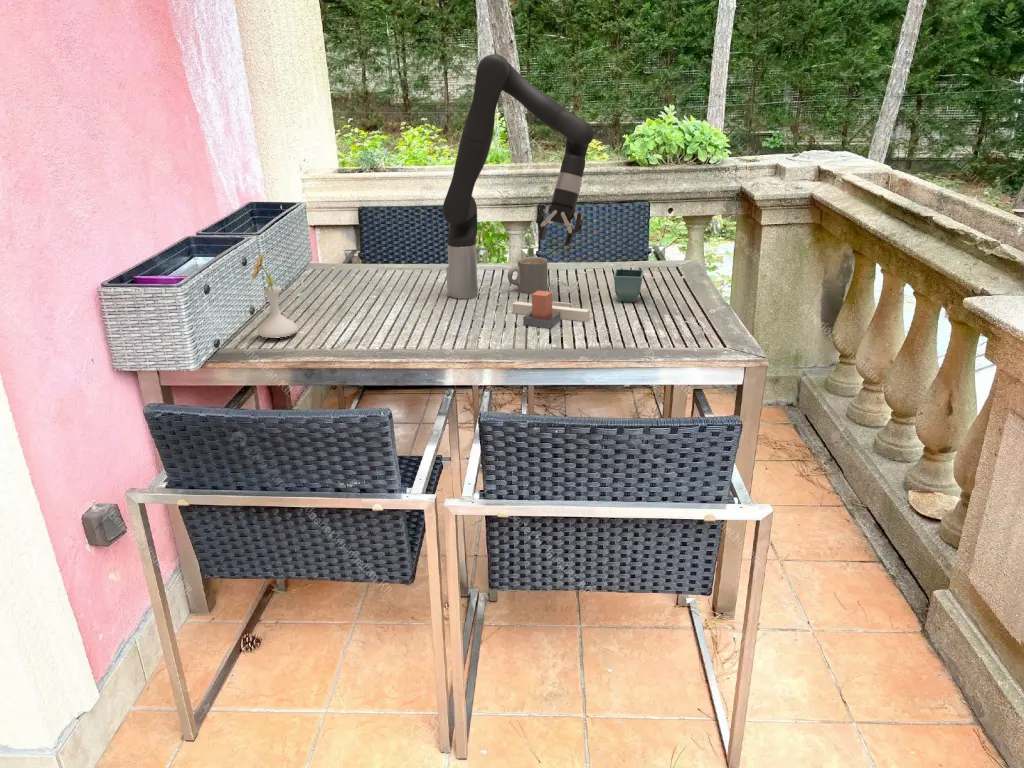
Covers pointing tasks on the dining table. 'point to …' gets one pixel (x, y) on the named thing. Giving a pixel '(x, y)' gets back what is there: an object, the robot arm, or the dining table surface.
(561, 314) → the strip
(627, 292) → the flower pot
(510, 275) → the coffee mug
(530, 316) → the keeper bracket
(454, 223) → the robot arm
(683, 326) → the dining table surface
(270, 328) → the flower in vase
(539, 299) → the block
